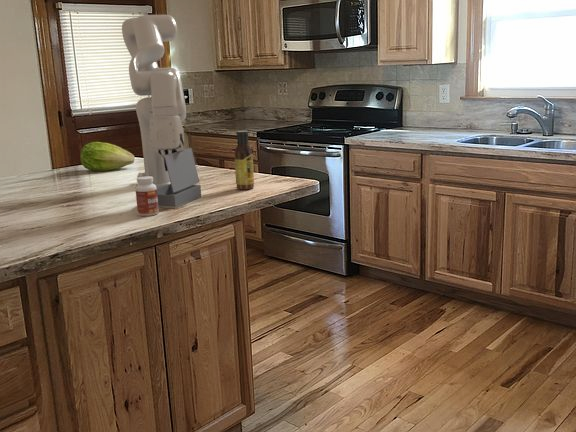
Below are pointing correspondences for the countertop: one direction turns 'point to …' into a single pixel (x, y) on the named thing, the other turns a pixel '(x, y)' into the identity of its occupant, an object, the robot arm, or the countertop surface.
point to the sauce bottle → (243, 162)
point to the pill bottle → (146, 196)
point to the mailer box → (177, 196)
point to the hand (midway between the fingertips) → (170, 170)
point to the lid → (181, 169)
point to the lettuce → (105, 157)
